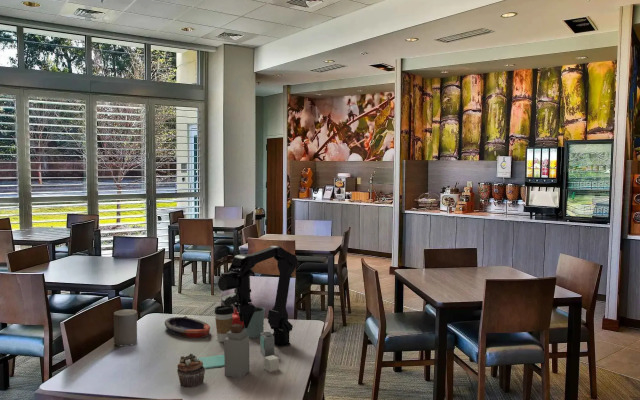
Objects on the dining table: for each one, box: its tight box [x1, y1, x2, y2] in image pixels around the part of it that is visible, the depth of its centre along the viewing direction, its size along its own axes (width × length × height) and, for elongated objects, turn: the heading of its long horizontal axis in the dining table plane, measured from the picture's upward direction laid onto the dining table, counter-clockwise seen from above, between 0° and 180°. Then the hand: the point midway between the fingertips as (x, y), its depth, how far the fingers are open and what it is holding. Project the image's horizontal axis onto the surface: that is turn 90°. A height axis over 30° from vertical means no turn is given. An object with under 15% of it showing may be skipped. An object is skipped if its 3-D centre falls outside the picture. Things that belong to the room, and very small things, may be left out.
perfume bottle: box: [223, 324, 250, 378], centre depth 192 cm, size 7×7×18 cm
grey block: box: [263, 354, 280, 373], centre depth 196 cm, size 4×4×4 cm
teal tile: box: [197, 354, 225, 370], centre depth 203 cm, size 11×11×1 cm
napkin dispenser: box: [259, 331, 276, 357], centre depth 212 cm, size 4×7×8 cm, turn 21°
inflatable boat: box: [164, 315, 211, 339], centre depth 241 cm, size 16×31×5 cm, turn 45°
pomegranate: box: [232, 308, 244, 329], centre depth 249 cm, size 10×10×9 cm
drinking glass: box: [243, 306, 266, 339], centre depth 237 cm, size 10×10×12 cm
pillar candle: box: [113, 308, 138, 346], centre depth 226 cm, size 10×10×15 cm
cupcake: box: [177, 353, 206, 389], centre depth 183 cm, size 10×10×10 cm
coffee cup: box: [214, 304, 235, 343], centre depth 230 cm, size 8×8×15 cm
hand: (243, 324), depth 209 cm, fingers open, 9 cm apart
